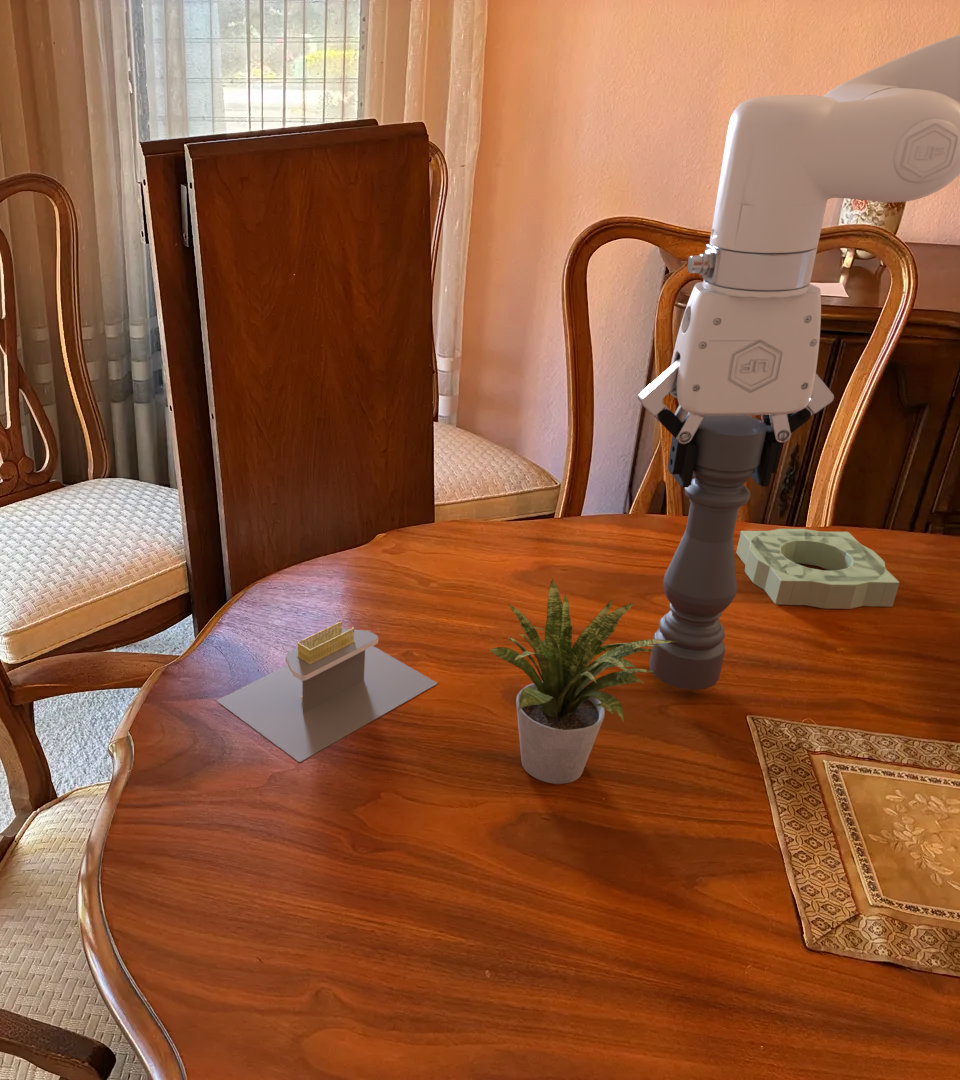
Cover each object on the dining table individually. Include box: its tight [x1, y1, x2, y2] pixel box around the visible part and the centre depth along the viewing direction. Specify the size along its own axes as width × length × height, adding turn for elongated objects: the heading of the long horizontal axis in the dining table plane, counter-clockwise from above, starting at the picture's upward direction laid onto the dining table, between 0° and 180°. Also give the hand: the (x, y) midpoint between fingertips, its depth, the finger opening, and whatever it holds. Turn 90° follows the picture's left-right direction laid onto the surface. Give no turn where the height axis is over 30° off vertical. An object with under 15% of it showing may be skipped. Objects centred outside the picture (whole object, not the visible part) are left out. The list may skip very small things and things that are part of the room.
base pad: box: [735, 528, 900, 610], centre depth 112 cm, size 13×13×3 cm
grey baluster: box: [649, 415, 767, 691], centre depth 89 cm, size 6×6×25 cm
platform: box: [216, 621, 438, 763], centre depth 95 cm, size 12×18×7 cm, turn 129°
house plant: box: [488, 578, 676, 785], centre depth 81 cm, size 14×14×16 cm
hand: (719, 478), depth 86 cm, fingers closed on grey baluster, 5 cm apart
